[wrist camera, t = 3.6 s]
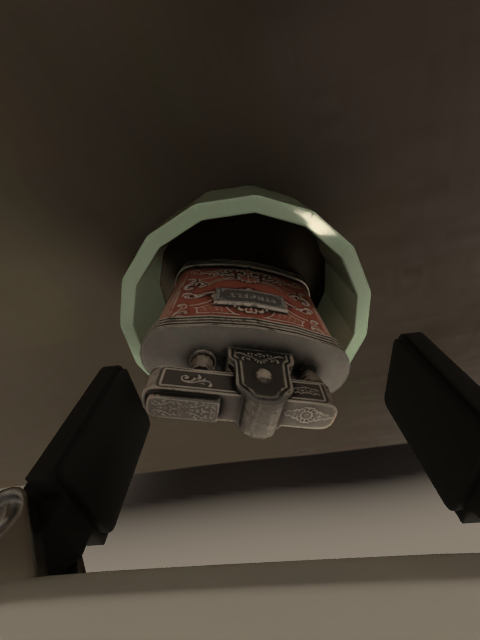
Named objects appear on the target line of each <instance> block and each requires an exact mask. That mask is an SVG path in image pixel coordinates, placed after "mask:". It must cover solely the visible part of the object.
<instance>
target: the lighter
mask: <svg viewBox="0 0 480 640" xmlns="http://www.w3.org/2000/svg"><path fill="white" fill-rule="evenodd" d="M139 354H140V358H141V362H142V365H143V366H144V368H145V369H146V371H147V372H148V373H149V374H150V375H149V378H148V380H147V383H146V385H145V388H144V390H143V393H142V404H143V408H144V409H145V410H146V411H147V413H148V414H149V415H151V416H155V417H164V418H175V419H186V420H197V421H208V422H217V420H222V421H232V422H233V423H234V424H236V425H237V426H238V428H239V429H240V431H241V432H242V433H243V434H245V435H247V436H249V437H251V438H261V439H265V438H268V437H271V436H272V435H273V434H274V433H275V431H276V429H278V428H279V427H281V426H288V427H299V428H310V429H323V428H327V427H329V426H330V425H331V424H332V423H333V421H334V420H335V418H336V415H337V409H336V406H335V404H334V401H333V399H332V396H331V394H330V393H332V392H334V391H336V390H337V389H338V388H339V387H340V386H342V385H343V383H344V382H345V380H346V379H347V377H348V375H349V371H350V362H349V358H348V356H347V354H346V353H345V351H344V349H343V347H342V346H341V345H340V343H339V342H338V340H336V339H334V338H332V337H331V335H330V333H329V332H328V330H327V328H326V326H325V324H324V322H323V321H322V319H321V317H320V315H319V313H318V311H317V309H316V308H315V306H314V304H313V302H312V300H311V298H310V291H309V288H308V286H307V284H306V283H305V281H304V280H303V278H302V277H300V276H298V275H297V274H294V273H291V272H288V271H285V270H282V269H279V268H276V267H273V266H268V265H264V264H259V263H254V262H250V261H240V260H226V259H210V260H193V261H189V262H187V263H186V264H184V265H183V266H182V267H181V269H180V271H179V272H178V274H177V276H176V280H175V287H174V289H173V291H172V293H171V296H170V298H169V300H168V302H167V304H166V306H165V308H164V310H163V312H162V314H161V316H160V318H159V320H158V321H156V322H155V323H154V324H152V325H151V327H150V328H149V330H148V332H147V333H146V335H145V337H144V339H143V341H142V343H141V347H140V353H139Z"/></svg>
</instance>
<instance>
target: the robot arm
mask: <svg viewBox="0 0 480 640" xmlns="http://www.w3.org/2000/svg"><path fill="white" fill-rule="evenodd" d="M385 404H386V406H387V408H388V410H389V412H390V413H391V415H392V417H393V418H394V420H395V422H396V423H397V425H398V427H399V428H400V430H401V432H402V433H403V435H404V437H405V438H406V440H407V442H408V444H409V445H410V447H411V449H412V450H413V452H414V454H415V455H416V457H417V459H418V460H419V462H420V463H421V465H422V467H423V469H424V470H425V472H426V474H427V475H428V477H429V479H430V480H431V482H432V484H433V485H434V487H435V489H436V490H437V492H438V494H439V496H440V497H441V499H442V501H443V502H444V504H445V505H446V507H447V508H448V509H449V510H451V511H455V513H456V514H457V516H458V517H459V519H460V521H461V522H462V523H477V522H480V386H479V385H477V384H476V383H475V382H474V381H473V380H472V379H471V378H470V377H469V376H468V375H467V374H466V373H465V372H464V371H462V370H461V369H460V368H459V367H458V366H457V365H456V364H455V363H454V362H453V361H452V360H451V359H450V358H449V357H448V356H446V355H445V354H444V353H443V352H442V351H441V350H440V349H439V348H438V347H437V346H436V345H435V344H434V343H433V342H431V341H430V340H429V339H428V338H427V337H426V336H425V335H424V334H423V333H421V332H416V333H407V334H401V335H400V336H399V339H395V341H394V344H393V349H392V355H391V361H390V367H389V373H388V379H387V385H386V391H385ZM149 426H150V422H149V418H148V416H147V413H146V411H145V409H144V408H143V404H142V402H141V400H140V398H139V395H138V393H137V391H136V389H135V386H134V384H133V382H132V380H131V378H130V375H129V373H128V371H127V370H126V369H123V368H122V367H121V366H119V365H117V366H108V367H103V368H101V370H100V371H99V372H98V374H97V375H96V377H95V378H94V380H93V381H92V382H91V384H90V385H89V387H88V388H87V390H86V391H85V393H84V394H83V396H82V397H81V398H80V400H79V401H78V403H77V404H76V406H75V407H74V409H73V410H72V412H71V413H70V414H69V416H68V417H67V419H66V420H65V422H64V423H63V425H62V426H61V428H60V429H59V430H58V432H57V433H56V435H55V436H54V438H53V439H52V441H51V442H50V444H49V445H48V446H47V448H46V449H45V451H44V452H43V454H42V455H41V457H40V458H39V460H38V461H37V462H36V464H35V465H34V467H33V468H32V470H31V471H30V473H29V474H28V475H27V477H26V478H25V479H26V480H27V482H28V483H27V484H26V486H25V487H24V489H22V488H20V487H11V488H7V489H4V490H1V491H0V640H480V553H459V554H429V555H408V556H387V557H365V558H344V559H323V560H303V561H283V562H264V563H246V564H226V565H207V566H191V567H190V566H189V567H172V568H155V569H137V570H119V571H105V572H104V571H103V572H90V573H86V571H85V566H84V562H83V558H82V554H83V552H84V550H85V547H86V545H87V546H91V545H104V544H105V541H106V538H107V535H108V533H109V532H111V531H112V530H113V529H114V527H115V525H116V522H117V519H118V516H119V513H120V510H121V508H122V505H123V502H124V499H125V496H126V493H127V490H128V487H129V485H130V482H131V479H132V476H133V473H134V471H135V468H136V465H137V462H138V459H139V456H140V453H141V451H142V448H143V445H144V442H145V439H146V436H147V433H148V431H149Z"/></svg>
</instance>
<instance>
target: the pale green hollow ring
mask: <svg viewBox="0 0 480 640" xmlns="http://www.w3.org/2000/svg"><path fill="white" fill-rule="evenodd" d="M249 213H258V214H261V215H265V216H268V217H272V218H276V219H279V220H283V221H287V222H290V223H294V224H298V225H301V226H305V227H306V228H307V229H308V230H310V231H311V232H312V233H313V235H314V237H315V239H316V241H317V244H318V246H319V248H320V250H321V253H322V255H323V257H324V259H325V292H324V294H323V296H322V299H321V301H320V303H319V305H318V307H317V311H318V313H319V315H320V317H321V319H322V321H323V322H324V324H325V326H326V328H327V330H328V332H329V333H330V335H331V337H332V338H334V339H336V340H338V342H339V343H340V345H341V346H342V347H343V349H344V351H345V353H346V354H347V356H348V358H349V362H351V361H352V359H353V357H354V356H355V354H356V352H357V351H358V349H359V347H360V345H361V344H362V342H363V340H364V339H365V337H366V334H367V325H368V316H369V307H370V298H371V290H370V287H369V285H368V282H367V279H366V277H365V274H364V271H363V269H362V266H361V264H360V261H359V258H358V256H357V253H356V250H355V248H354V246H352V245H351V244H350V243H349V242H348V241H347V240H346V239H345V238H344V237H342V236H341V235H340V234H339V233H338V232H337V231H336V230H335V229H334V228H332V227H331V226H330V225H329V224H328V223H327V222H326V221H325V220H323V219H322V218H321V217H320V216H319V215H318V214H317V213H316V212H314V211H313V210H311V209H310V208H308V207H306V206H305V205H303V204H302V203H300V202H298V201H297V200H295V199H294V198H292V197H290V196H287V195H284V194H280V193H277V192H273V191H270V190H266V189H263V188H259V187H256V186H253V185H245V186H239V187H233V188H226V189H220V190H214V191H208V192H206V193H204V194H203V195H201V196H200V197H198V198H197V199H195V200H194V201H192V202H191V203H189V204H188V205H186V206H185V207H183V208H182V209H180V210H179V211H178V212H176V213H175V214H173V215H172V216H171V217H170V218H168V219H167V220H166V221H165V222H163V223H162V224H161V225H160V226H159V227H157V228H156V229H155V230H154V231H153V232H151V233H150V234H149V235H148V236H147V237H146V238H145V240H144V242H143V244H142V245H141V247H140V249H139V251H138V252H137V254H136V256H135V258H134V259H133V261H132V263H131V265H130V266H129V268H128V270H127V272H126V273H125V275H124V277H123V279H122V289H121V312H120V326H121V329H122V331H123V333H124V336H125V338H126V340H127V343H128V345H129V347H130V350H131V352H132V354H133V357H134V359H135V362H136V363H137V364H138V365H139V366H140V367H141V368H142V369H143V370H144V371H145V372H146V373H147V374H148V375H150V374H149V373H148V372H147V371H146V369H145V368H144V366H143V365H142V362H141V358H140V354H139V353H140V347H141V343H142V341H143V339H144V337H145V335H146V333H147V332H148V330H149V328H150V327H151V325H152V324H154V323H155V322H156V321H158V320H159V318H160V316H161V314H162V312H163V310H164V308H165V306H166V303H165V300H164V296H163V293H162V290H161V287H160V276H161V268H162V259H163V252H164V251H165V249H166V247H167V246H168V244H169V243H170V241H171V240H172V239H174V238H175V237H177V236H178V235H180V234H182V233H183V232H185V231H186V230H188V229H189V228H191V227H192V226H194V225H195V224H197V223H199V222H200V221H202V220H209V219H216V218H222V217H229V216H236V215H242V214H249Z"/></svg>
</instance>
